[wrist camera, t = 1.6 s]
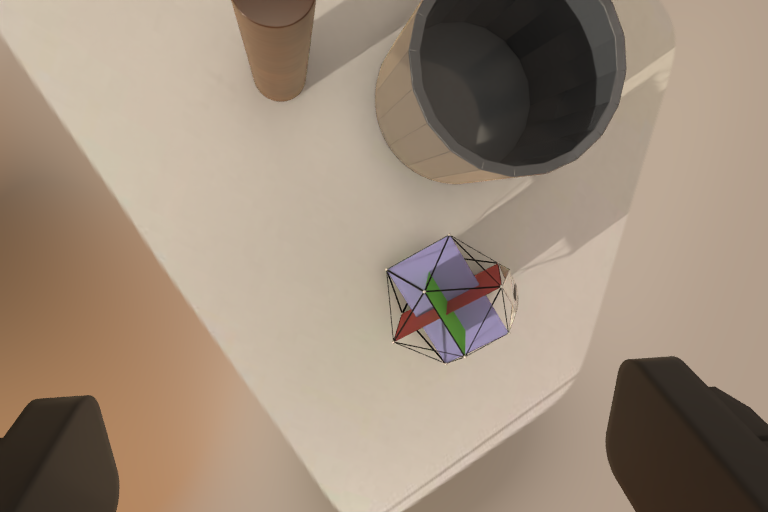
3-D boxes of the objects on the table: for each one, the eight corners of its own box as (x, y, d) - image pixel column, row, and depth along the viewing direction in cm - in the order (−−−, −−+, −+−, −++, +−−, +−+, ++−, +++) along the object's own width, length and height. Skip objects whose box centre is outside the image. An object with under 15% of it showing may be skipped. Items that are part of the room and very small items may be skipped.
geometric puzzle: (398, 395, 33) (505, 383, 28) (335, 300, 32) (434, 266, 26) (456, 325, 38) (558, 303, 32) (404, 240, 37) (499, 201, 31)
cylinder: (242, 72, 32) (207, -26, 19) (280, 37, 33) (274, -85, 19) (278, 112, 33) (271, 46, 19) (316, 78, 33) (335, -12, 19)
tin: (340, 92, 33) (361, 45, 24) (462, -18, 34) (532, -109, 24) (449, 217, 35) (511, 222, 25) (563, 110, 36) (667, 74, 26)
